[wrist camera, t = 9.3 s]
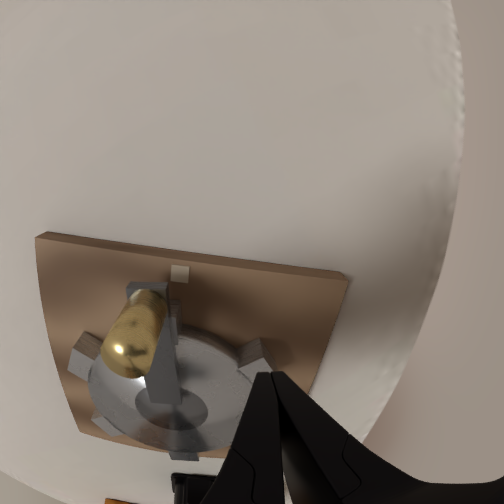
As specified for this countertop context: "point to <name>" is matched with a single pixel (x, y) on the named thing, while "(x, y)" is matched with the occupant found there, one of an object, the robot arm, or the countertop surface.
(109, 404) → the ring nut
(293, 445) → the robot arm
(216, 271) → the walnut base
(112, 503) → the coffee package
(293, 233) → the countertop surface
